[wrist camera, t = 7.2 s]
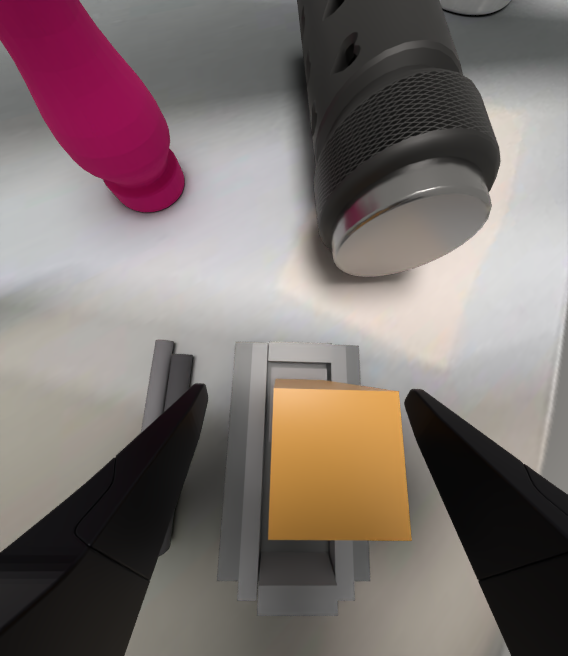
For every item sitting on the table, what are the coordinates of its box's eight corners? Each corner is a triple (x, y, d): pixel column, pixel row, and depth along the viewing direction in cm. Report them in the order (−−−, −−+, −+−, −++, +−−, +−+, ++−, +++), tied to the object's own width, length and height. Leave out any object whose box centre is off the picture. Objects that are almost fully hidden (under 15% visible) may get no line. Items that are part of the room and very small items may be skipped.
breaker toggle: (323, 437, 14) (429, 582, 4) (269, 436, 14) (251, 581, 4) (322, 369, 15) (408, 362, 5) (271, 367, 15) (262, 358, 5)
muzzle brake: (370, 59, 24) (436, -165, 14) (416, 283, 18) (587, 173, 8) (288, 58, 24) (297, -174, 14) (309, 287, 18) (350, 177, 8)
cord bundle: (174, 539, 14) (162, 558, 12) (130, 539, 14) (114, 558, 12) (197, 343, 16) (190, 340, 15) (161, 341, 16) (150, 339, 15)
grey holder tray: (360, 558, 14) (387, 620, 10) (223, 558, 14) (205, 621, 10) (351, 348, 17) (370, 341, 13) (239, 344, 16) (229, 337, 13)
